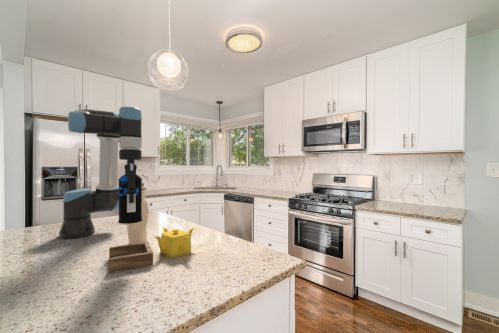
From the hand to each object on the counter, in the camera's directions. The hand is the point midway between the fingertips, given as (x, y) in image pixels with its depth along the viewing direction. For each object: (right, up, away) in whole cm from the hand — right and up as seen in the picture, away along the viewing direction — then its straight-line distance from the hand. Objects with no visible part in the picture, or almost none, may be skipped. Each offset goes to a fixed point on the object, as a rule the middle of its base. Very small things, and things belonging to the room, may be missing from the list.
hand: (130, 209), depth 91 cm
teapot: (+14, -20, +10) cm, 26 cm away
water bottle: (-7, -20, +21) cm, 30 cm away
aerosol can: (0, -4, 0) cm, 4 cm away
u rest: (0, -20, 0) cm, 20 cm away
